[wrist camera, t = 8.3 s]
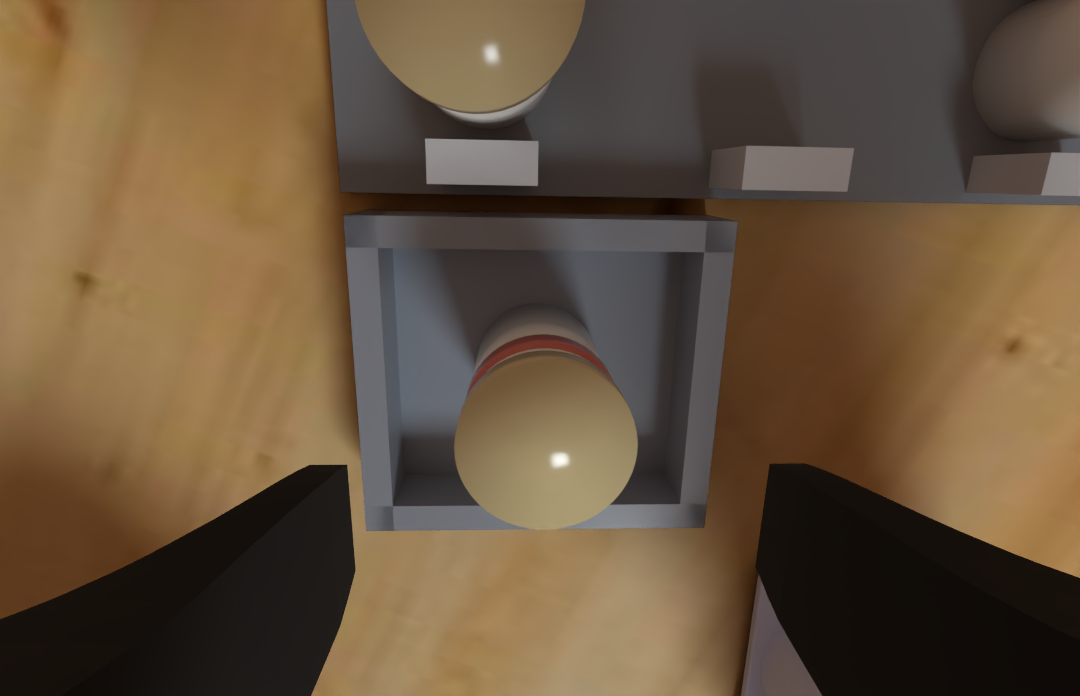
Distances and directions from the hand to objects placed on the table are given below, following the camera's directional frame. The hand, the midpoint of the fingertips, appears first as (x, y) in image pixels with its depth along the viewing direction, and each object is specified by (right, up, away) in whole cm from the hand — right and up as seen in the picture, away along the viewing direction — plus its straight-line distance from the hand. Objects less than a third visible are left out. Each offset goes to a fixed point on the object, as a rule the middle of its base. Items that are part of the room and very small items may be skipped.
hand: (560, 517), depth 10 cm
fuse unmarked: (-2, +10, +5) cm, 12 cm away
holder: (+6, +11, +6) cm, 14 cm away
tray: (0, +3, +9) cm, 9 cm away
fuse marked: (0, +2, +8) cm, 8 cm away
